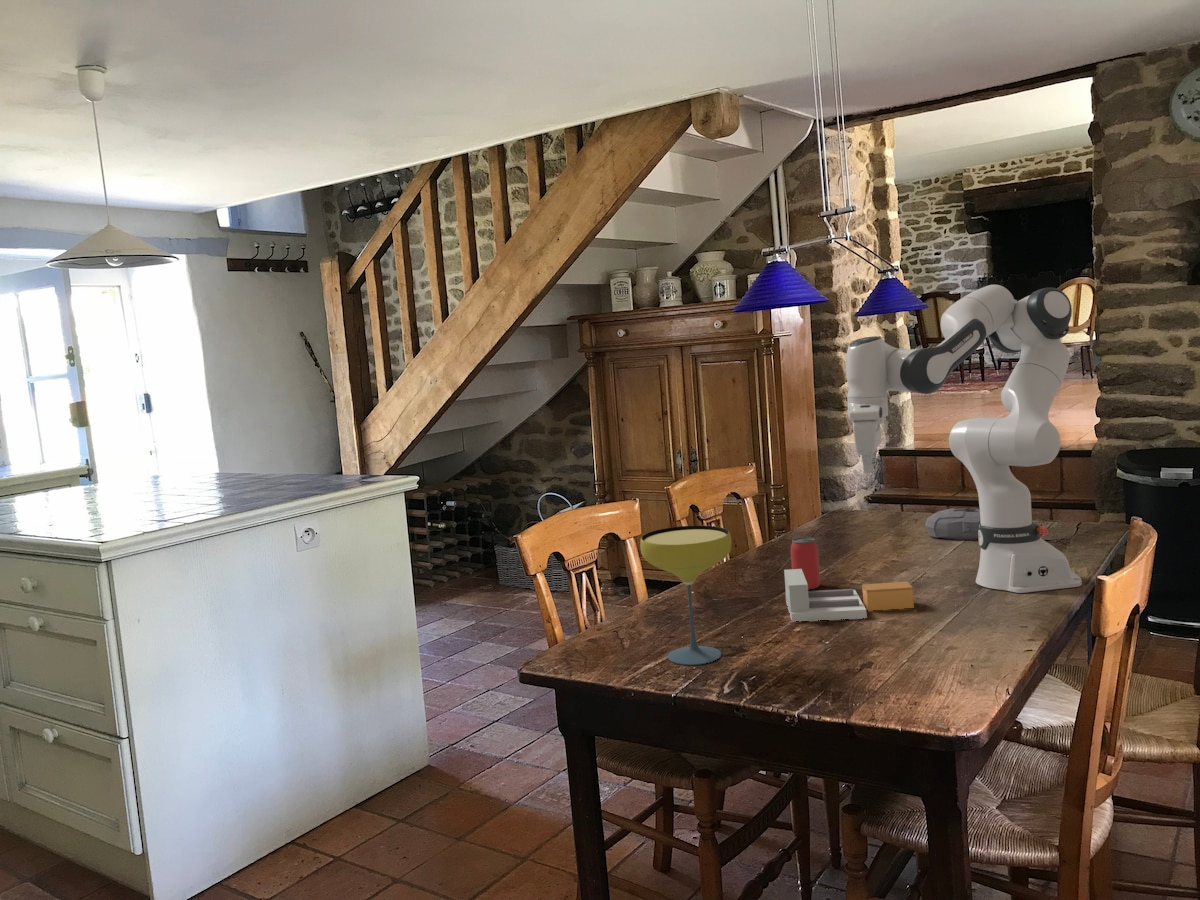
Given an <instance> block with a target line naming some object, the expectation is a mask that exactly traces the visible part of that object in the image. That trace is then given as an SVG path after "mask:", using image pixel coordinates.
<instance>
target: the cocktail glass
mask: <svg viewBox="0 0 1200 900" xmlns="http://www.w3.org/2000/svg"><path fill="white" fill-rule="evenodd" d="M639 541H640V545H639V547H640V553H641V556H642V557H643V559H644V560H645V561H646V562H647V563H649V564H650V565H652V566H653V567H655V568H657V569H660V570H663V571H665V572H668V573H670V574H673V575H674V576H676V577H677V578H678V579H679V580H680V581H681V582H682V584H684V585H686V586H687V595H688V596H687V598H688V609H689V610H688V611H689V625H690V643H689V644H690V645H689V646H683V647H681V648H677V649H675V650H672V651H670V652H669V653H668V655H667V659H668V661H670V662H671V663H673V664H676V665H680V666H702V664H703V665H706V663H708V664H711V663H713V661H714V662H715V660H716V661H718V660H719V659H720V658H721V657H722V652H721V650H720V649H718V648H715V647H711V646H708V645H707V646H705V645H703V646H702V645H698V643H697V639H696V638H697V637H696V634H695V633H696V632H695V623H694V622H695V621H694V615H693V614H694V613H693V601H692V589H691V587H692V585H693V584H694V583H695V582H696V580H697V578H698V577H699V576H700V575H701V574H702V573H704V572H705V571H707V570H709V569H711V568H713V567H714V566H716V565H717V564H719V563H720V562H721V561H724V559H725V558H727V556H728V555H729V554H730V552H731V550H732V536H731V533H730V531H729V530H728V529H727V528H725V527H724V528H723V527H720V526H713V525H682V526H673V527H672V526H671V527H666V528H665V527H664V528H660V529H655V530H653V531H648V532H647V533H644V534H643V535H642V536H641V537H640V540H639ZM717 659H718V660H717ZM710 662H711V663H710Z"/></svg>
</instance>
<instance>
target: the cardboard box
mask: <svg viewBox="0 0 1200 900" xmlns="http://www.w3.org/2000/svg"><path fill="white" fill-rule="evenodd" d="M861 585H862V587H861V588H862V600H863V601H862V603H863V605H864V606H865V607H866V611H867V610H868V611H867V612H874V611H873V610H883V611H891V610H890V609H899V610H905V609H904V608H915V602H914V586H912V585H911V584H910V583H909V582H908V581H895V582H894V581H893V582H881V583H865V584H864V583H863V584H861ZM888 609H889V610H888Z"/></svg>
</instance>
